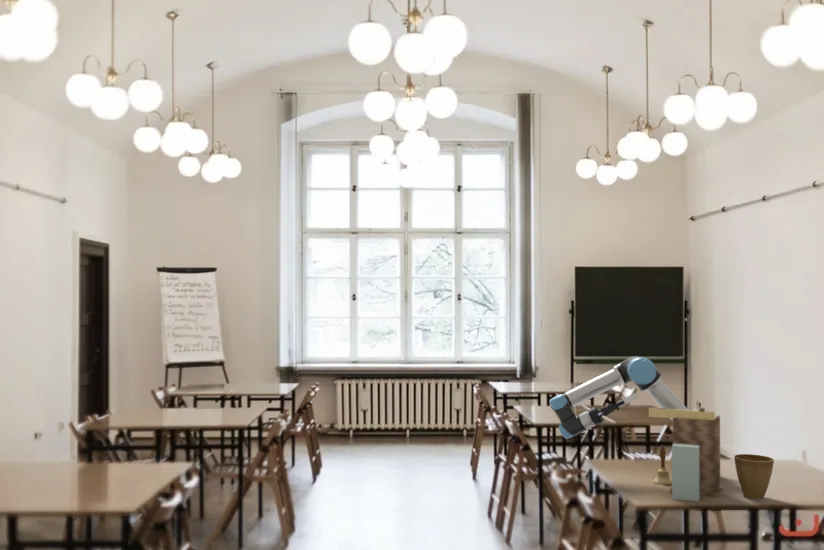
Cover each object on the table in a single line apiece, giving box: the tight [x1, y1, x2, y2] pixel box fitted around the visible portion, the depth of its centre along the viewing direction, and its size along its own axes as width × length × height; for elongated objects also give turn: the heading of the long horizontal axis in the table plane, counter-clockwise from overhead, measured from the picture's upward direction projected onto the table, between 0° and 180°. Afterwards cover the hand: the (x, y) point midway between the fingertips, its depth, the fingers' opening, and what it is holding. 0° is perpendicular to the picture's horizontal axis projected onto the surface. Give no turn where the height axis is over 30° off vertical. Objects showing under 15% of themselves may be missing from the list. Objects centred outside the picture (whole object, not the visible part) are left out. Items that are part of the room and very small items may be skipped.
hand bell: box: [652, 445, 672, 486], centre depth 347 cm, size 8×8×16 cm
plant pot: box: [733, 453, 775, 500], centre depth 322 cm, size 15×15×16 cm
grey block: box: [671, 443, 701, 502], centre depth 319 cm, size 10×7×21 cm
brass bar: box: [648, 407, 716, 421], centre depth 334 cm, size 26×4×5 cm, turn 66°
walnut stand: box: [669, 415, 724, 498], centre depth 331 cm, size 20×12×32 cm, turn 66°
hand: (633, 396), depth 351 cm, fingers open, 13 cm apart
